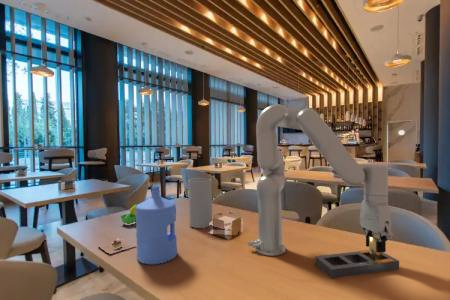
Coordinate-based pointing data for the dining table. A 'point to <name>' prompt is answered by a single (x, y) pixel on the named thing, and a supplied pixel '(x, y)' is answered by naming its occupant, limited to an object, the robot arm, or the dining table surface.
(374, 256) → the brass peg
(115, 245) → the dessert
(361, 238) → the dining table surface
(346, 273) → the grey compartment tray
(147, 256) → the water jug
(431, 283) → the dining table surface
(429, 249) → the dining table surface
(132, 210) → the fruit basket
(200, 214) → the cylinder vase
